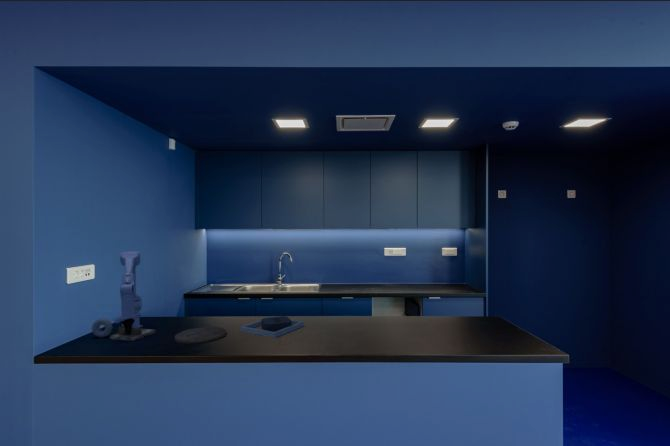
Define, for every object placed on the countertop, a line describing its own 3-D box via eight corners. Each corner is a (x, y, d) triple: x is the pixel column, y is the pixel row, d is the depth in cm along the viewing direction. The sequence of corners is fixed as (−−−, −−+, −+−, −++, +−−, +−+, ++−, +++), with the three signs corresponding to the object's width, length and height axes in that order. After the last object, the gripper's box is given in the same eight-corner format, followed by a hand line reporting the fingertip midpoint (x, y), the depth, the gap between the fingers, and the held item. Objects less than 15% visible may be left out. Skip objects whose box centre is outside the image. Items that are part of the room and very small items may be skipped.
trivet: (235, 336, 195) (235, 332, 195) (189, 348, 176) (188, 344, 176) (211, 327, 212) (211, 324, 212) (166, 338, 193) (166, 334, 193)
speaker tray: (240, 331, 201) (240, 326, 201) (271, 321, 221) (270, 317, 221) (274, 337, 188) (274, 332, 188) (303, 326, 209) (303, 321, 209)
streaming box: (293, 331, 200) (292, 321, 200) (266, 334, 195) (265, 324, 195) (286, 324, 214) (285, 315, 214) (260, 327, 208) (260, 318, 208)
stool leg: (116, 334, 194) (116, 327, 194) (120, 333, 197) (120, 326, 197) (138, 335, 193) (137, 327, 193) (141, 333, 196) (141, 326, 196)
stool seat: (109, 338, 194) (109, 330, 194) (133, 330, 208) (133, 322, 208) (132, 340, 189) (132, 332, 189) (155, 332, 203) (155, 324, 203)
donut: (114, 335, 199) (113, 316, 199) (110, 337, 195) (110, 318, 196) (94, 336, 198) (94, 317, 198) (90, 338, 195) (90, 319, 195)
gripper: (121, 310, 185) (122, 338, 185) (145, 304, 199) (145, 330, 199) (110, 309, 187) (111, 337, 187) (134, 304, 201) (135, 329, 201)
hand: (128, 333), depth 193 cm, fingers closed, pressing on stool leg
